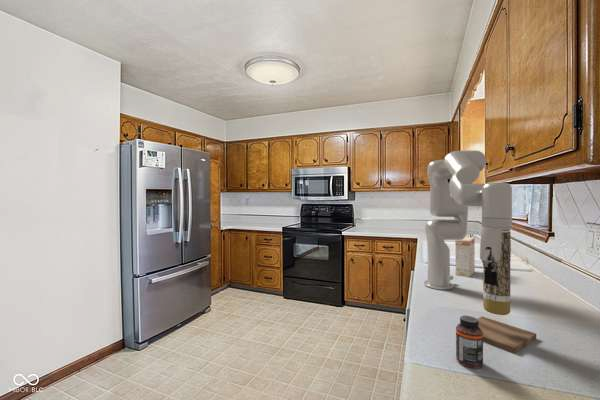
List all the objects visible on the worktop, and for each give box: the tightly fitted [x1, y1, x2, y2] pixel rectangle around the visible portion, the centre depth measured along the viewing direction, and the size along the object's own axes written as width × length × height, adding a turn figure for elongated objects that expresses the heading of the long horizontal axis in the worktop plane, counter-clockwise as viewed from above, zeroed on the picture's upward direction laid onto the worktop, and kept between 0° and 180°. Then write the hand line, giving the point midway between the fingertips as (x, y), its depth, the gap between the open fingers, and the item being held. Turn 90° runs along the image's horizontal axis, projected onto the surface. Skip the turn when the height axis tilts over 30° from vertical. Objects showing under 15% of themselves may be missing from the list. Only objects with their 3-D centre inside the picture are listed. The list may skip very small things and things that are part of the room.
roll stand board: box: [477, 316, 537, 354], centre depth 88 cm, size 15×15×2 cm
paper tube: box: [482, 230, 512, 316], centre depth 88 cm, size 7×7×25 cm
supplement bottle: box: [455, 315, 484, 369], centre depth 73 cm, size 6×6×11 cm
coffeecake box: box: [454, 236, 476, 278], centre depth 160 cm, size 15×7×20 cm, turn 139°
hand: (496, 281), depth 88 cm, fingers closed on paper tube, 6 cm apart
